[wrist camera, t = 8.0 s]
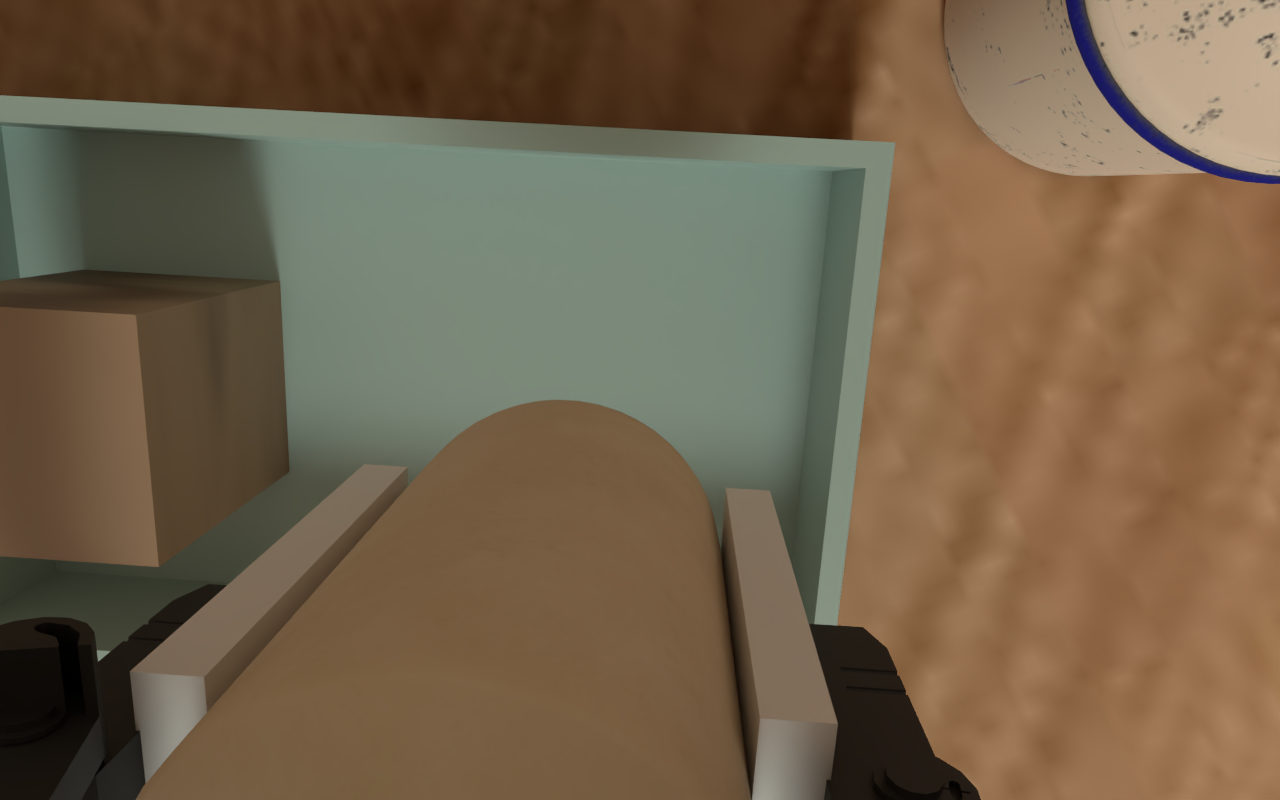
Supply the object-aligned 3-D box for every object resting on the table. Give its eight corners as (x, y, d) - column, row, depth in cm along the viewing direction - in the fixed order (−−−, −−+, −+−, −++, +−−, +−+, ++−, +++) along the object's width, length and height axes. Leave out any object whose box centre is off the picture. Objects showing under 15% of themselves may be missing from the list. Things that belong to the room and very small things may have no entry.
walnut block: (103, 459, 27) (-89, 550, 20) (83, 269, 26) (-131, 299, 19) (289, 471, 27) (158, 567, 20) (280, 281, 25) (135, 314, 19)
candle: (526, 330, 14) (214, 634, 5) (782, 518, 15) (977, 1130, 5) (354, 569, 16) (-178, 1205, 6) (598, 733, 16) (482, 1553, 6)
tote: (53, 578, 29) (-73, 657, 24) (-6, 106, 25) (-169, 86, 20) (799, 630, 28) (825, 722, 23) (852, 151, 24) (895, 142, 20)
